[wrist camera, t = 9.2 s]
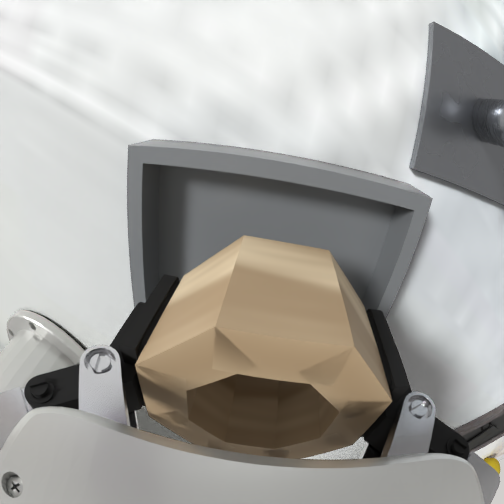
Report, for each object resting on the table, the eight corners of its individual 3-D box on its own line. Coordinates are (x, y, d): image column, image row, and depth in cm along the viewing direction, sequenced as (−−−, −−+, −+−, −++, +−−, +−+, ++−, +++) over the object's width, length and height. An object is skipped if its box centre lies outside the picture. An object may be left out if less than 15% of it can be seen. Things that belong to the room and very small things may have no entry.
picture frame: (409, 471, 31) (508, 424, 26) (411, 480, 29) (511, 432, 24) (421, 438, 25) (539, 375, 20) (424, 451, 23) (545, 384, 18)
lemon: (472, 466, 34) (478, 491, 27) (485, 455, 32) (493, 481, 25) (486, 460, 34) (492, 484, 27) (499, 449, 32) (507, 474, 24)
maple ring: (326, 383, 13) (331, 463, 9) (184, 360, 13) (156, 438, 9) (382, 259, 9) (429, 351, 5) (185, 225, 10) (123, 304, 6)
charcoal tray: (338, 365, 18) (343, 394, 15) (156, 336, 18) (143, 362, 16) (408, 183, 12) (432, 198, 10) (153, 139, 12) (128, 145, 10)
